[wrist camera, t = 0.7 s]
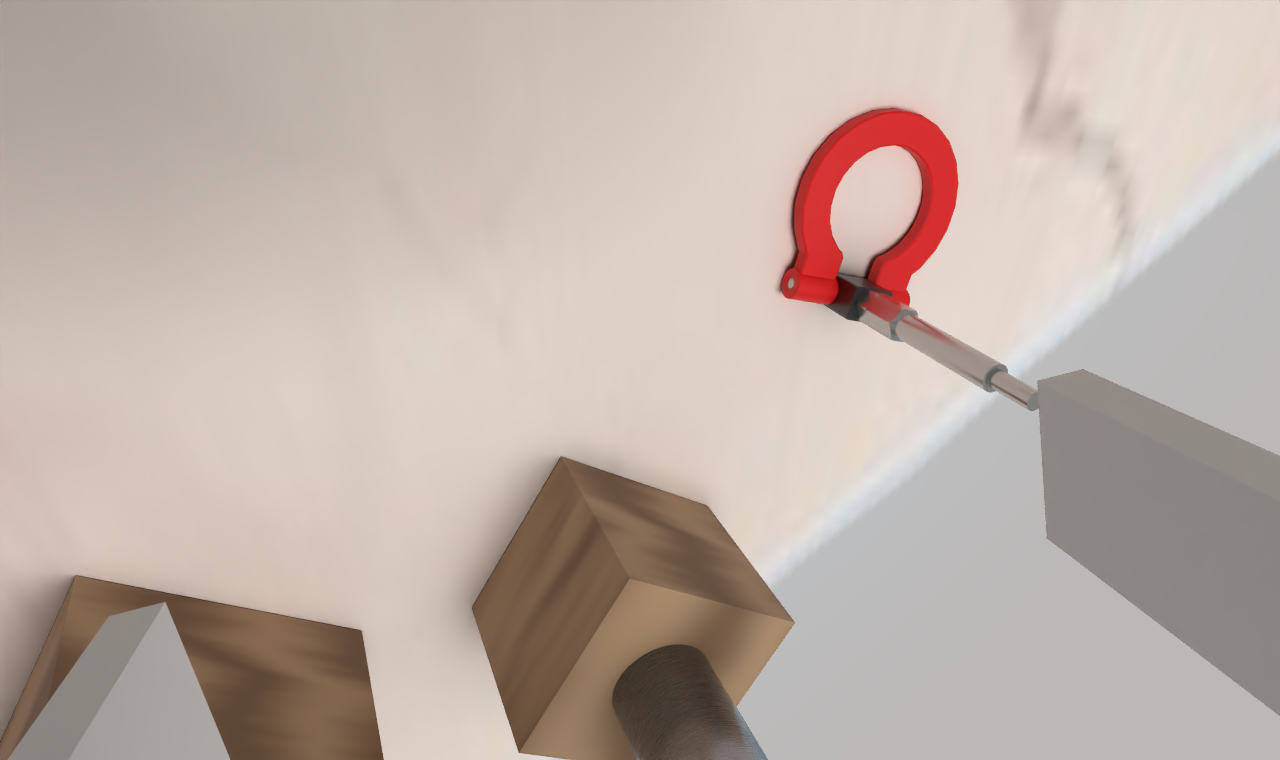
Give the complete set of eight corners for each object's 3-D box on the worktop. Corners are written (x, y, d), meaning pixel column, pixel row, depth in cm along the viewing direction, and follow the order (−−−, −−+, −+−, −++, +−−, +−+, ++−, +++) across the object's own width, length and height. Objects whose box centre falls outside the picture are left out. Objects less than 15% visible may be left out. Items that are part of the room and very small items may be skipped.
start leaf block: (471, 607, 45) (518, 752, 37) (561, 456, 43) (629, 578, 35) (620, 641, 50) (688, 775, 42) (707, 506, 47) (795, 622, 40)
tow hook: (824, 86, 40) (759, 291, 43) (1050, 145, 29) (941, 413, 32) (968, 129, 43) (898, 313, 46) (1215, 195, 33) (1104, 429, 36)
